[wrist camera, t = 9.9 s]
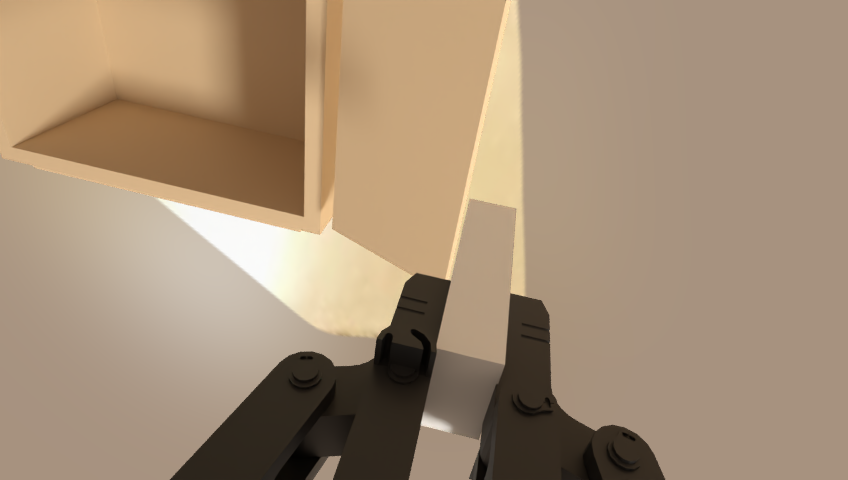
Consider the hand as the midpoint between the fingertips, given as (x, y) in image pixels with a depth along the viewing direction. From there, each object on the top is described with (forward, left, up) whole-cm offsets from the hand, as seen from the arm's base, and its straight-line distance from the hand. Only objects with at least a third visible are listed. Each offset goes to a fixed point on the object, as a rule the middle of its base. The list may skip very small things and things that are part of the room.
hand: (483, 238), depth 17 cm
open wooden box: (-20, 0, -20) cm, 28 cm away
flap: (-5, 0, -7) cm, 8 cm away
